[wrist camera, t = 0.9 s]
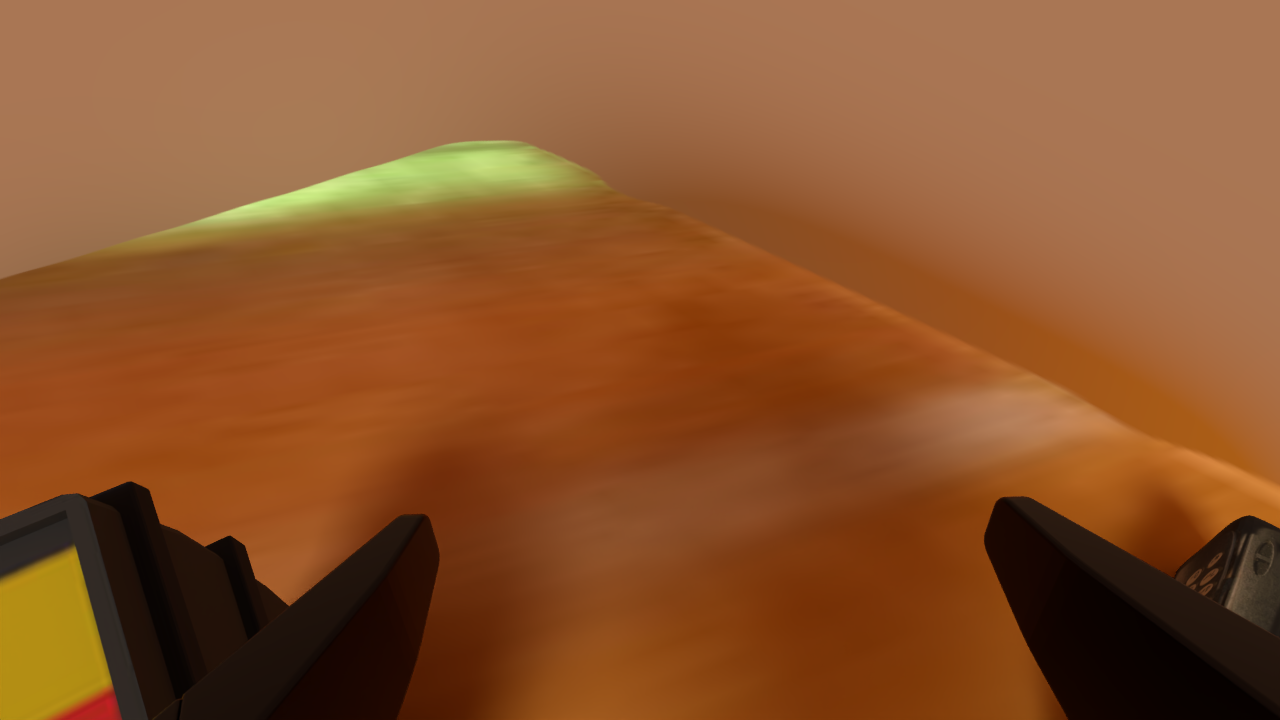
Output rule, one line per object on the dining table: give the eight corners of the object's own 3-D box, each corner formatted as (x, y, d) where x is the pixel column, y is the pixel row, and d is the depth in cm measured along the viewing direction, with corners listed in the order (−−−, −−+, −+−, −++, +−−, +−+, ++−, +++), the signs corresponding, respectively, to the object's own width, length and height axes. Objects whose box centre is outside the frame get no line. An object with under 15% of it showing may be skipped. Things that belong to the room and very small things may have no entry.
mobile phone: (1237, 494, 22) (1122, 830, 14) (1343, 544, 20) (1278, 955, 13) (1163, 561, 25) (1038, 865, 18) (1249, 609, 24) (1152, 969, 16)
